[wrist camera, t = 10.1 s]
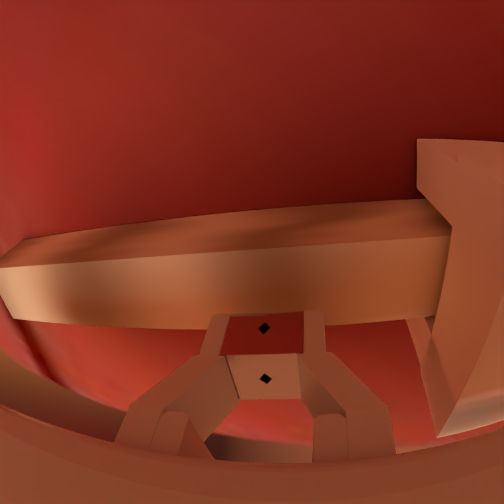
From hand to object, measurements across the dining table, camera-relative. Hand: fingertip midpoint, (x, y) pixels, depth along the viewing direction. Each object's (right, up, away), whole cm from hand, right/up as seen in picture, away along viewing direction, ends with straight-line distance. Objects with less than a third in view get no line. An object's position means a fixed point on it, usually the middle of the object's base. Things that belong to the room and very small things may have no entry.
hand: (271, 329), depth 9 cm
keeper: (+9, +3, +2) cm, 9 cm away
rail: (+1, +2, +3) cm, 4 cm away
